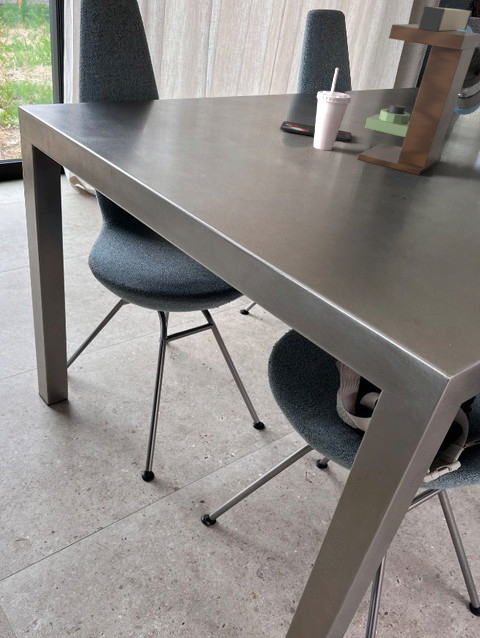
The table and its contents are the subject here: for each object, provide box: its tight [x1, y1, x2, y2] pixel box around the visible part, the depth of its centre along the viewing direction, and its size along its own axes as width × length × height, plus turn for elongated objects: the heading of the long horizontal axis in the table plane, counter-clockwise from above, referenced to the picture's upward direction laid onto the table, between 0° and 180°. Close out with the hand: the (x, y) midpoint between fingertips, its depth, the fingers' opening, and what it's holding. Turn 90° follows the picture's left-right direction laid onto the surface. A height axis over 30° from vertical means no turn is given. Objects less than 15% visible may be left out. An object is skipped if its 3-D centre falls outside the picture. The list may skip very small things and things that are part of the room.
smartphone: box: [279, 121, 352, 143], centre depth 121 cm, size 7×1×15 cm
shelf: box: [357, 23, 480, 176], centre depth 104 cm, size 12×14×22 cm
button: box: [387, 103, 406, 114], centre depth 130 cm, size 4×4×2 cm
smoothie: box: [313, 67, 352, 151], centre depth 108 cm, size 6×6×14 cm
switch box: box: [364, 108, 411, 138], centre depth 131 cm, size 10×8×4 cm
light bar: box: [418, 5, 473, 31], centre depth 99 cm, size 3×22×3 cm, turn 147°
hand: (468, 13), depth 110 cm, fingers open, 8 cm apart
